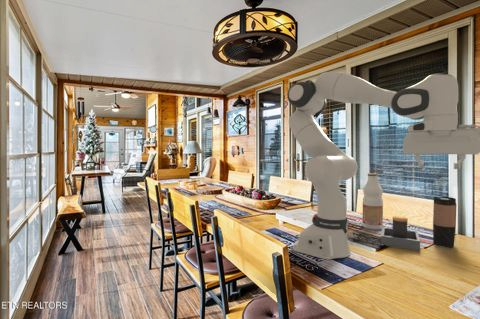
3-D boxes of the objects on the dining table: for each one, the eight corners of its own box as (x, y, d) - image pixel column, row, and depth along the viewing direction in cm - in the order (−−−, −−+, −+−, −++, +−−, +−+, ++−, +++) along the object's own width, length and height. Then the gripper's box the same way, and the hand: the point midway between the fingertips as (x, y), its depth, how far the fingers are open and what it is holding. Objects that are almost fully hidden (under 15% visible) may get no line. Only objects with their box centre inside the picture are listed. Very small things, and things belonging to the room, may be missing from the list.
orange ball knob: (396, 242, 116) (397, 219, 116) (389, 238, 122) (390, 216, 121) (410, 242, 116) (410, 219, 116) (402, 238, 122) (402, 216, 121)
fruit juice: (370, 230, 136) (371, 174, 135) (358, 225, 145) (359, 173, 144) (386, 229, 138) (387, 174, 137) (373, 224, 147) (374, 172, 146)
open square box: (380, 245, 117) (380, 235, 116) (382, 235, 129) (382, 227, 128) (420, 251, 110) (420, 241, 109) (417, 240, 122) (417, 231, 122)
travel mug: (452, 249, 111) (453, 200, 110) (430, 244, 117) (431, 197, 116) (457, 244, 116) (458, 198, 115) (435, 240, 122) (436, 195, 121)
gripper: (479, 124, 85) (477, 168, 86) (403, 127, 95) (402, 166, 96) (485, 123, 80) (483, 170, 80) (403, 126, 90) (402, 168, 90)
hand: (438, 168), depth 88 cm, fingers open, 8 cm apart
